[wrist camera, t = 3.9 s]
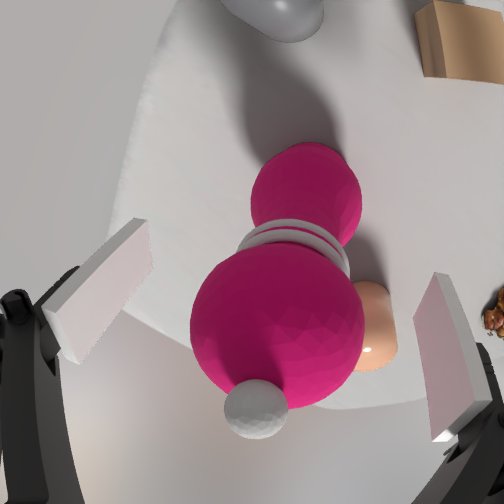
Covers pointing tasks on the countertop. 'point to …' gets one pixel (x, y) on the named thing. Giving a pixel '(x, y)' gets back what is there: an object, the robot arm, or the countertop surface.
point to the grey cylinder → (280, 17)
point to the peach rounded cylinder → (376, 327)
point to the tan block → (461, 42)
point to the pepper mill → (284, 294)
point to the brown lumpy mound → (495, 317)
